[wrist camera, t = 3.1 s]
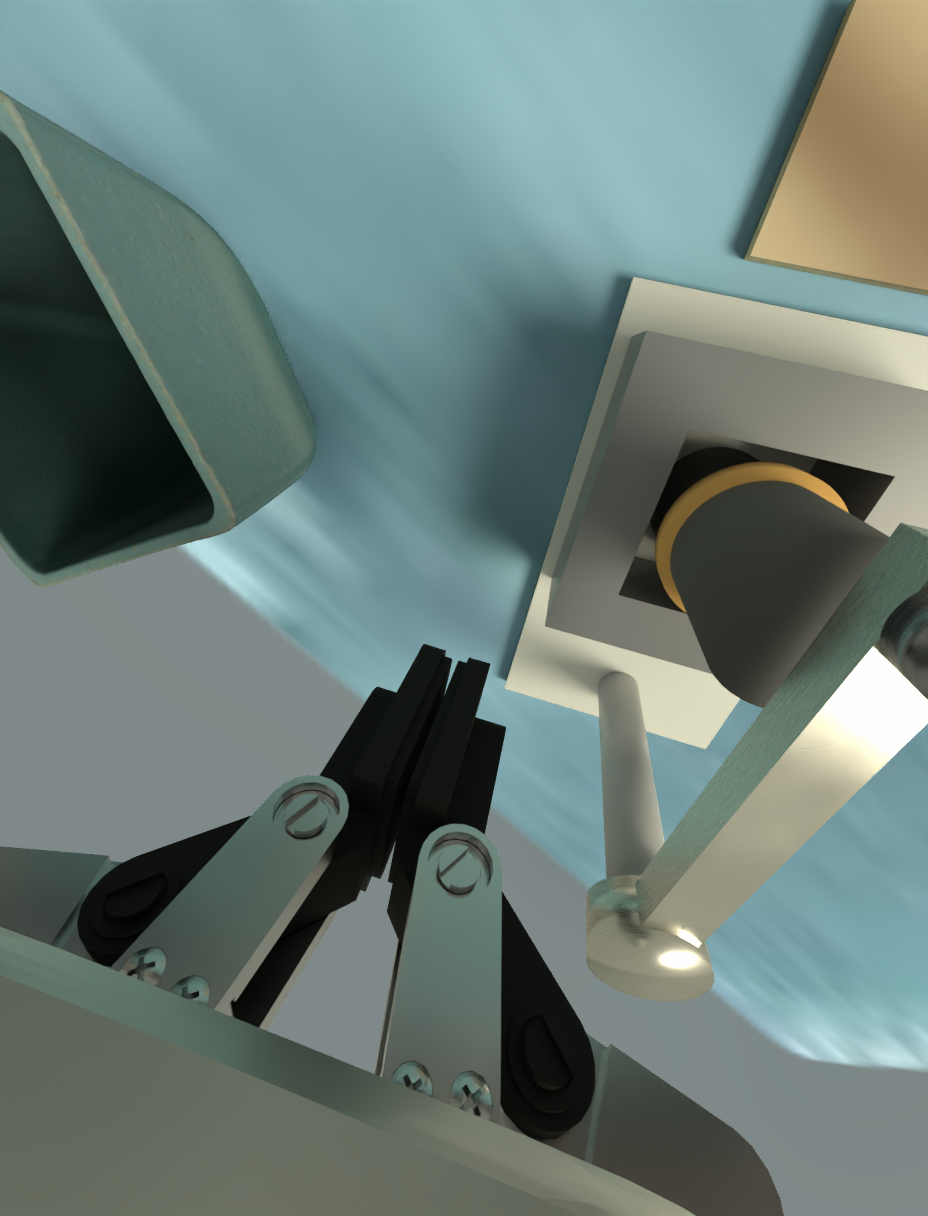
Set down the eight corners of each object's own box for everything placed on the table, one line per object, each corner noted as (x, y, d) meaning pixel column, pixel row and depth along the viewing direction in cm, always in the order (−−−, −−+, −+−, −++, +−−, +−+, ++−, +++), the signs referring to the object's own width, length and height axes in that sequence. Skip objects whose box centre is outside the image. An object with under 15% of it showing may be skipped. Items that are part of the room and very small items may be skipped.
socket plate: (631, 279, 14) (708, 163, 6) (966, 347, 13) (1679, 332, 5) (506, 681, 23) (460, 876, 14) (702, 739, 22) (780, 987, 13)
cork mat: (848, 5, 11) (861, -12, 10) (1119, 42, 10) (1147, 26, 10) (743, 259, 14) (750, 255, 13) (956, 301, 13) (971, 298, 12)
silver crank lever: (671, 950, 13) (685, 1042, 12) (572, 915, 14) (570, 1000, 12) (1050, 556, 7) (1225, 631, 5) (838, 504, 7) (927, 558, 5)
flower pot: (375, 460, 19) (239, 529, 11) (221, 511, 22) (31, 593, 14) (278, 207, 16) (-14, 65, 8) (110, 308, 19) (-220, 275, 11)
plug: (670, 423, 15) (757, 489, 8) (808, 455, 15) (1044, 559, 7) (621, 545, 18) (651, 687, 10) (739, 576, 17) (863, 748, 10)
